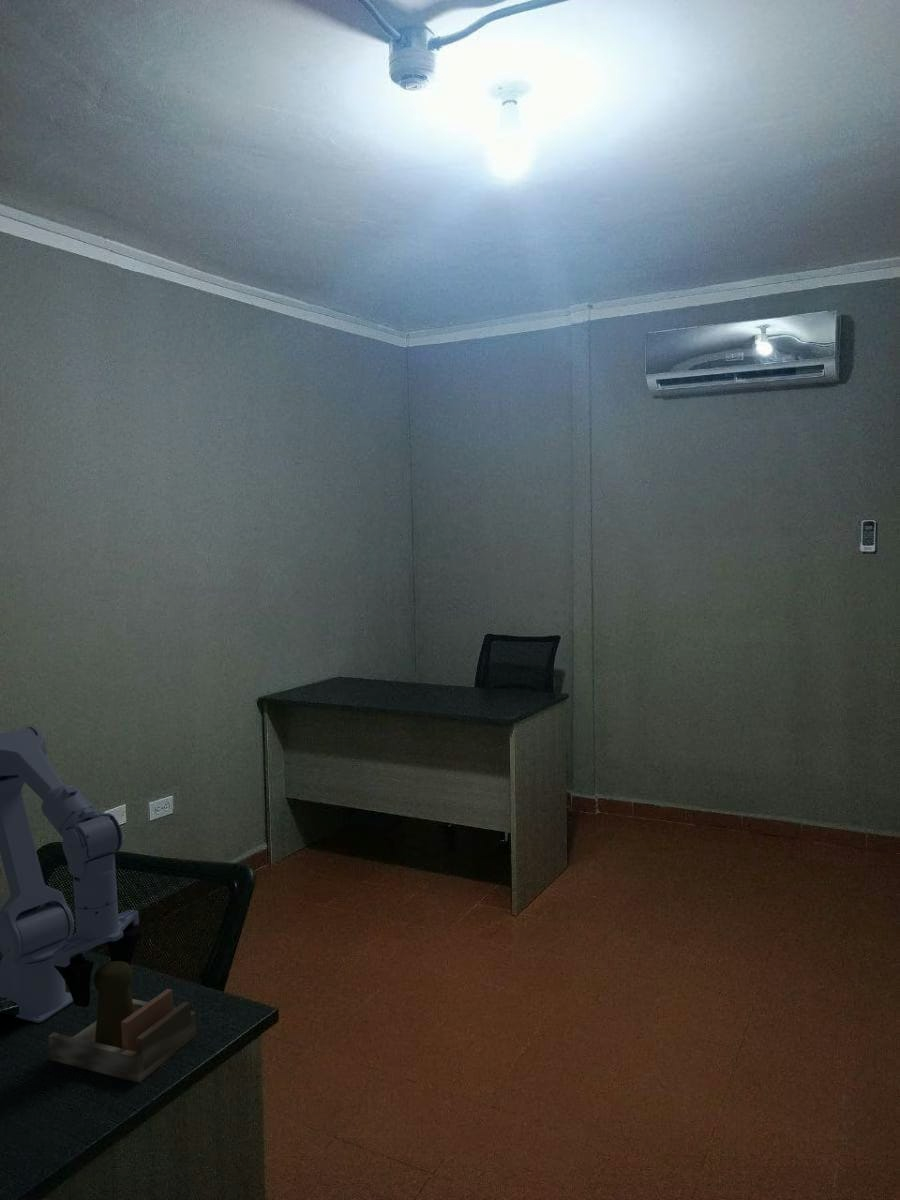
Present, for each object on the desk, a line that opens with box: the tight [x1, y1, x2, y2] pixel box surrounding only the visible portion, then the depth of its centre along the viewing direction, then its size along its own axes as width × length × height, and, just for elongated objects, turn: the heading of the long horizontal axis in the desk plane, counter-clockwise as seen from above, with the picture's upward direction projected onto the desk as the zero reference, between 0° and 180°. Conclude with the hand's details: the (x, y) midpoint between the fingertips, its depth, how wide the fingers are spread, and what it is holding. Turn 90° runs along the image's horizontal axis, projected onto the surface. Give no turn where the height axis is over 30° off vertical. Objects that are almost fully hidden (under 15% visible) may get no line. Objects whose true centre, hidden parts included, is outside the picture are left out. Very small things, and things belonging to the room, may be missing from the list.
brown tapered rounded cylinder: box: [93, 961, 135, 1048], centre depth 127 cm, size 6×6×11 cm
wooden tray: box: [48, 998, 198, 1083], centre depth 126 cm, size 16×12×6 cm
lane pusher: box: [121, 988, 175, 1052], centre depth 125 cm, size 1×9×6 cm, turn 158°
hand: (101, 991), depth 128 cm, fingers open, 7 cm apart
